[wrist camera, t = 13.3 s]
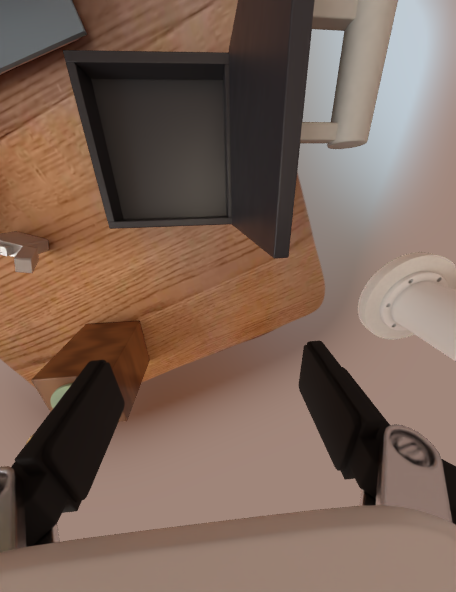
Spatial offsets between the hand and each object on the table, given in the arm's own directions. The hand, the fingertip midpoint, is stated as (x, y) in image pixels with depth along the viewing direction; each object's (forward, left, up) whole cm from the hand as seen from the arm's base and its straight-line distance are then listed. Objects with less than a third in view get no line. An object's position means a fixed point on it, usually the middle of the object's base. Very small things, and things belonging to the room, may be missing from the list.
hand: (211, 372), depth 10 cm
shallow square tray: (+4, -13, -24) cm, 27 cm away
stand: (+17, +15, -24) cm, 33 cm away
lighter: (+23, -3, -24) cm, 34 cm away
